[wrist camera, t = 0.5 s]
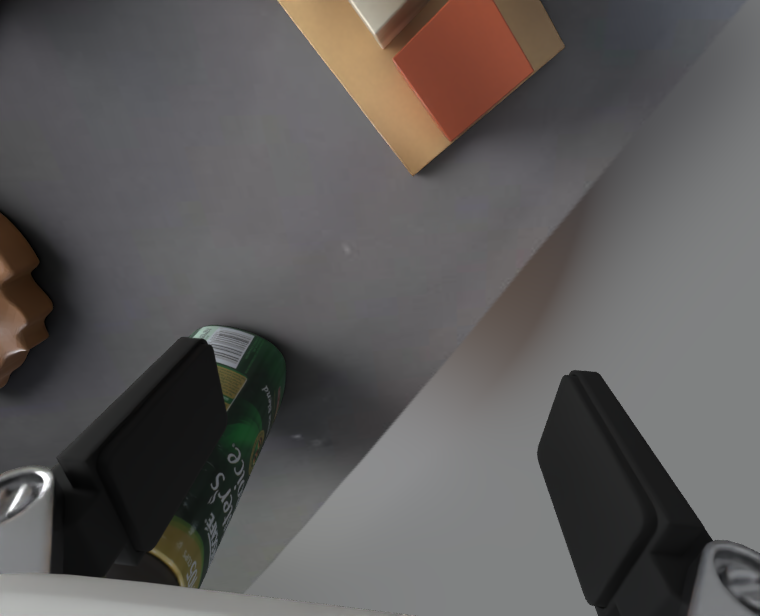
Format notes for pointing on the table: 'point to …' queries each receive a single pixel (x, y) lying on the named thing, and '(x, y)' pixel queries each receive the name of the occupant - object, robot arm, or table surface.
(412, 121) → the word board
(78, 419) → the table surface
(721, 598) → the robot arm
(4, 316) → the plant
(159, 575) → the coffee jar
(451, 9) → the orange wooden cube
